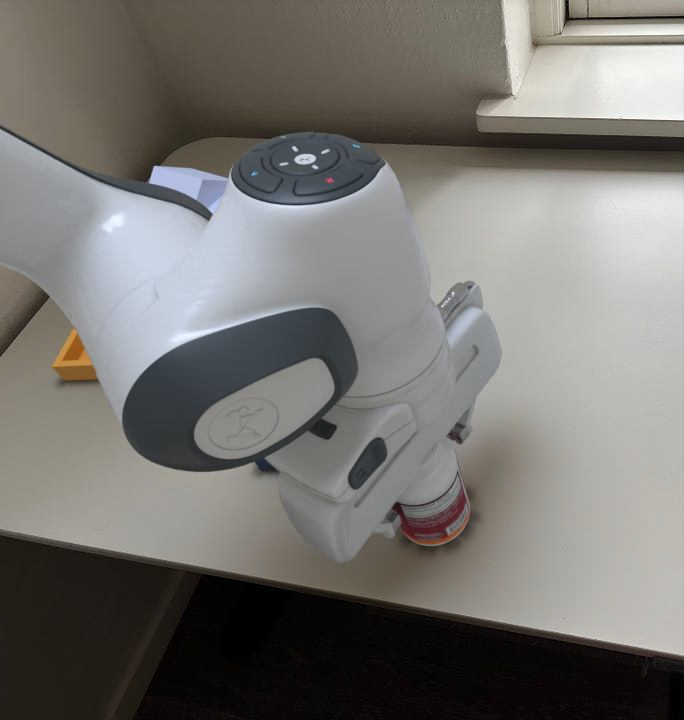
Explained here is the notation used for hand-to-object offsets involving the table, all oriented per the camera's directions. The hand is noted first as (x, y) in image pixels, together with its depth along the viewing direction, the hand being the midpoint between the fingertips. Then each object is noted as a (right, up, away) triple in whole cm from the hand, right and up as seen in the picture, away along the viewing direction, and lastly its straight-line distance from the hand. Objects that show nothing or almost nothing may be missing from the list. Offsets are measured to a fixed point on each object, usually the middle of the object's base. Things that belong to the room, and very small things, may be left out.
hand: (425, 479), depth 56 cm
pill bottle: (0, -4, +4) cm, 6 cm away
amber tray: (-32, +13, +23) cm, 42 cm away
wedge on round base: (-30, +27, +36) cm, 54 cm away
